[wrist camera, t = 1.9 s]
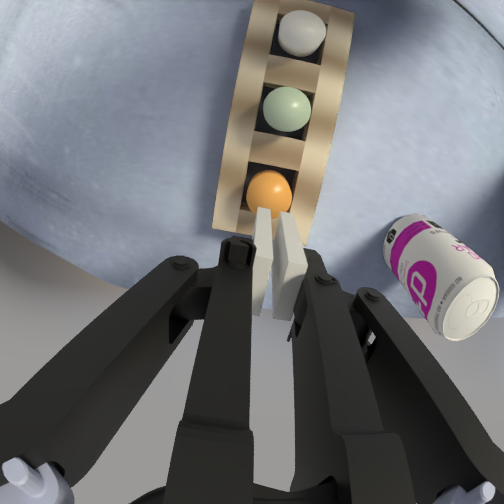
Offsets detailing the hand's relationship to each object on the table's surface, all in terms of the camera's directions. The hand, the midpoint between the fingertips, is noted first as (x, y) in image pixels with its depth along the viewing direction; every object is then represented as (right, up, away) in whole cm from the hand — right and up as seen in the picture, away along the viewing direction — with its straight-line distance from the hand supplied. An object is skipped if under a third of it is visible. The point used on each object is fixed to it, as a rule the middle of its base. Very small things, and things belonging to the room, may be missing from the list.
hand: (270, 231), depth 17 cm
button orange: (+1, +5, +11) cm, 12 cm away
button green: (+2, +12, +7) cm, 14 cm away
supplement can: (+19, 0, +15) cm, 24 cm away
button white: (+3, +19, +4) cm, 20 cm away
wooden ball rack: (+2, +13, +10) cm, 16 cm away
